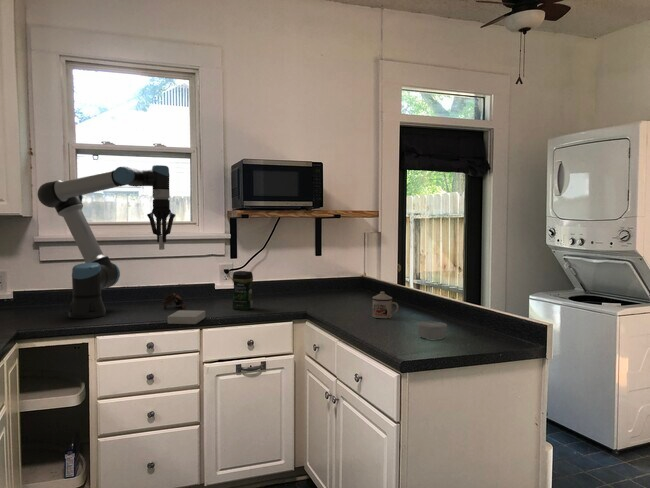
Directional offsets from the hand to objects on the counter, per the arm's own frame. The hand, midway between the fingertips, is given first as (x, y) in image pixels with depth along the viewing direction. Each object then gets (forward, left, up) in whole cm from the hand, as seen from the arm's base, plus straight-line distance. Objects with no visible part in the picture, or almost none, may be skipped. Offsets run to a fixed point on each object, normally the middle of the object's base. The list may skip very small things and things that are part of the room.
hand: (161, 249), depth 237 cm
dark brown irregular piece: (+2, +10, -30) cm, 32 cm away
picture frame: (+18, -12, -28) cm, 35 cm away
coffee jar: (+36, +10, -30) cm, 48 cm away
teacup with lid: (+104, -7, -30) cm, 108 cm away
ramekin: (+119, -43, -30) cm, 130 cm away
